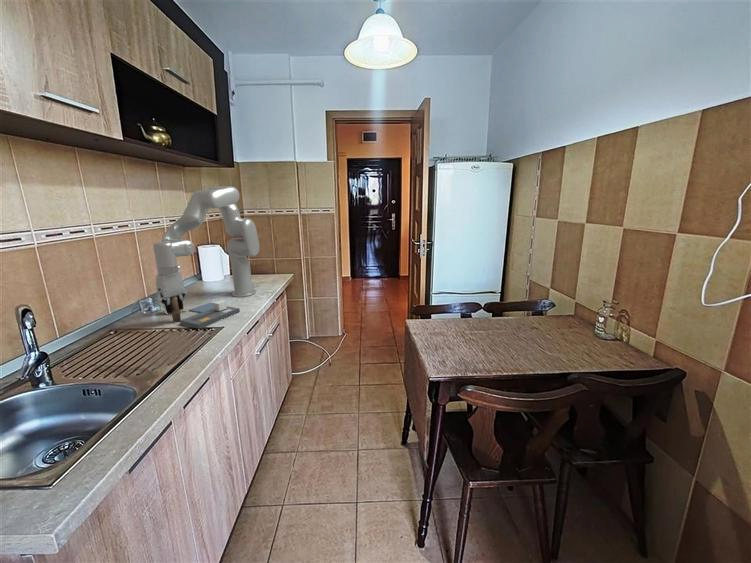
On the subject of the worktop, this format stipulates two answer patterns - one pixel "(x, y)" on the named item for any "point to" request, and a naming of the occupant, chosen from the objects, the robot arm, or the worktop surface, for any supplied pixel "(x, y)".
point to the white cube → (219, 305)
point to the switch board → (208, 317)
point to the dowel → (175, 309)
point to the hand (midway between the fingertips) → (175, 310)
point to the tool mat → (202, 308)
